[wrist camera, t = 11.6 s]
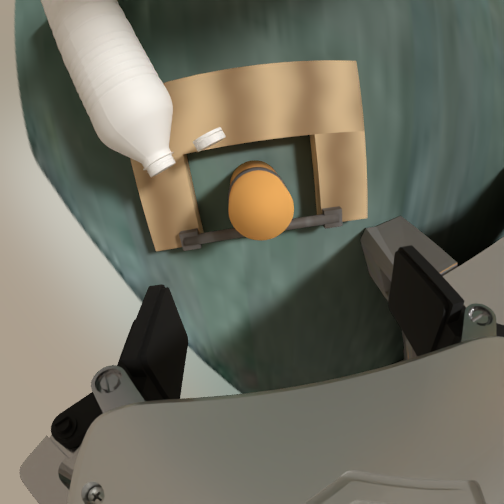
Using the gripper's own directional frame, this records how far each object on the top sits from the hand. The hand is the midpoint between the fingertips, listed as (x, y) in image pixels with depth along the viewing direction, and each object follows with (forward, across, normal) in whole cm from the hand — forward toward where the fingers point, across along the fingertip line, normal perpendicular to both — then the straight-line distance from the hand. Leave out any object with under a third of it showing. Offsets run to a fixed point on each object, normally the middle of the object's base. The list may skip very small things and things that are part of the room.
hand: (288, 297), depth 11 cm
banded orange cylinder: (+19, 0, +1) cm, 19 cm away
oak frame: (+19, 0, -3) cm, 19 cm away
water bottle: (+16, +14, -28) cm, 35 cm away
